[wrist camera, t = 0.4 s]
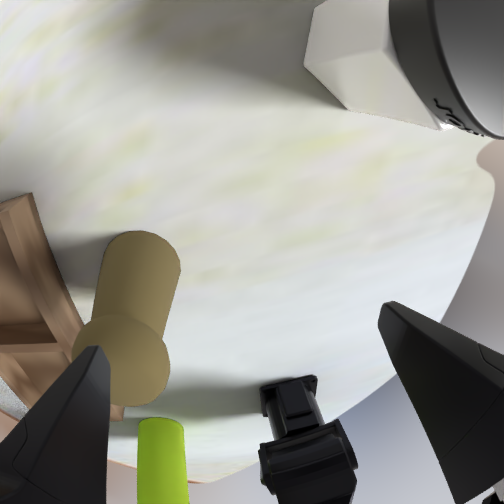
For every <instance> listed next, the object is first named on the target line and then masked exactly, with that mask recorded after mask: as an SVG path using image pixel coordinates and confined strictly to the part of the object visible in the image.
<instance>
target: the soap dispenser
mask: <svg viewBox="0 0 504 504" xmlns="http://www.w3.org/2000/svg"><path fill="white" fill-rule="evenodd" d="M137 504H189V494H188V484H187V473H186V460H185V445H184V429H183V426H182V425H181V424H180V423H178V422H176V421H174V420H171V419H166V418H148V419H144V420H142V421H141V422H140V423H139V426H138V451H137Z"/></svg>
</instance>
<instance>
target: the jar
mask: <svg viewBox="0 0 504 504" xmlns="http://www.w3.org/2000/svg"><path fill="white" fill-rule="evenodd" d="M303 65H304V67H305V68H306V69H307V70H309V71H310V72H311V73H312V74H313V75H314V76H315V77H316V78H317V79H318V80H319V81H320V82H321V83H322V84H323V85H324V86H325V87H326V88H327V89H328V90H329V91H330V92H331V93H332V94H333V95H334V96H335V97H336V98H337V99H338V100H339V101H340V102H341V103H342V104H343V105H344V106H345V107H346V108H347V109H348V110H349V111H352V112H358V113H364V114H369V115H374V116H380V117H385V118H389V119H394V120H399V121H403V122H407V123H411V124H415V125H419V126H423V127H427V128H431V129H434V130H438V131H445V130H448V129H452V128H455V127H458V128H459V129H461V130H465V131H467V132H469V133H473V134H476V135H479V136H483V137H486V136H488V137H491V138H494V139H499V140H504V0H326V1H325V2H323V3H322V4H320V5H318V6H317V7H315V9H314V12H313V17H312V22H311V27H310V33H309V38H308V43H307V48H306V53H305V58H304V63H303Z"/></svg>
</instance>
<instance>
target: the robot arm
mask: <svg viewBox="0 0 504 504" xmlns="http://www.w3.org/2000/svg"><path fill="white" fill-rule="evenodd" d="M378 329H379V331H380V334H381V336H382V339H383V341H384V344H385V346H386V349H387V351H388V354H389V356H390V359H391V361H392V364H393V366H394V368H395V370H396V372H397V374H398V376H399V378H400V380H401V382H402V384H403V386H404V387H405V390H406V392H407V394H408V396H409V398H410V400H411V402H412V404H413V406H414V408H415V410H416V412H417V414H418V416H419V419H420V421H421V423H422V425H423V427H424V429H425V432H426V434H427V436H428V438H429V440H430V443H431V445H432V447H433V449H434V452H435V454H436V456H437V459H438V460H439V464H440V466H441V469H442V471H443V473H444V476H445V478H446V481H447V483H448V486H449V488H450V491H451V493H452V496H453V499H454V501H455V503H456V504H464V503H466V502H468V501H469V500H471V499H473V498H475V497H476V496H478V495H479V494H481V493H483V492H484V491H486V490H487V489H489V488H490V487H492V486H493V488H494V490H495V491H494V492H493V493H491V494H490V495H489V496H488V497H486V498H485V499H484V500H483V502H482V504H504V355H502V354H500V353H498V352H496V351H494V350H492V349H490V348H488V347H486V346H484V345H482V344H480V343H477V342H476V341H474V340H472V339H470V338H468V337H466V336H464V335H462V334H460V333H458V332H456V331H454V330H452V329H450V328H448V327H446V326H444V325H442V324H440V323H438V322H436V321H434V320H432V319H430V318H428V317H426V316H424V315H422V314H420V313H418V312H416V311H414V310H412V309H410V308H408V307H406V306H404V305H402V304H400V303H398V302H395V301H390V302H386V303H384V304H383V305H382V307H381V311H380V315H379V319H378ZM317 381H318V379H317V377H316V376H310V377H306V378H301V379H297V380H293V381H288V382H284V383H279V384H274V385H269V386H264V387H261V388H260V397H261V406H262V414H263V417H268V418H269V421H270V425H271V429H272V433H273V437H274V441H271V442H267V443H261V444H260V449H259V450H258V454H259V459H260V466H261V471H260V478H261V479H260V480H261V483H262V484H263V485H265V486H267V488H268V490H269V491H270V493H271V494H272V495H276V496H277V499H278V503H279V504H351V503H352V500H353V496H354V492H355V488H356V484H357V479H356V476H355V474H354V471H353V470H355V469H357V468H358V463H357V459H356V456H355V453H354V451H353V448H352V446H351V444H350V442H349V440H348V438H347V435H346V434H345V431H344V429H343V427H342V425H341V423H340V421H339V419H336V420H333V421H332V422H330V423H327V424H325V423H324V420H323V417H322V415H321V412H320V410H319V407H318V404H317V402H316V399H315V395H316V388H317ZM110 384H111V367H110V363H109V361H108V359H107V357H106V355H105V353H104V351H103V349H102V347H101V346H100V345H88V346H87V347H86V348H85V349H84V350H83V351H82V352H81V353H80V354H79V355H78V356H77V357H76V358H75V359H74V361H73V362H72V363H71V364H70V365H69V366H68V367H67V368H66V369H65V370H64V371H63V373H62V374H61V375H60V376H59V377H58V378H57V379H56V380H55V381H54V383H53V384H52V385H51V386H50V387H49V388H48V389H47V390H46V392H45V393H44V394H43V395H42V396H41V397H40V398H39V400H38V401H37V402H36V403H35V404H34V405H33V406H32V408H31V409H30V410H29V411H28V412H27V413H26V415H25V417H23V418H22V419H21V420H20V422H19V423H18V424H17V425H16V426H15V428H14V429H13V430H12V431H11V432H10V433H9V434H8V435H7V437H5V439H4V440H3V441H2V442H1V443H0V504H106V476H107V475H106V474H107V451H108V435H109V423H110V407H111V400H110Z"/></svg>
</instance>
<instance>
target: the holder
mask: <svg viewBox="0 0 504 504" xmlns="http://www.w3.org/2000/svg"><path fill="white" fill-rule="evenodd" d="M83 326H84V323H83V322H82V320H81V318H80V316H79V314H78V312H77V310H76V307H75V305H74V303H73V301H72V299H71V297H70V295H69V293H68V290H67V288H66V286H65V284H64V281H63V279H62V277H61V274H60V272H59V269H58V267H57V265H56V262H55V260H54V257H53V254H52V252H51V249H50V247H49V244H48V241H47V238H46V235H45V233H44V230H43V227H42V224H41V221H40V218H39V215H38V211H37V208H36V205H35V201H34V198H33V195H32V193H29V194H25V195H22V196H19V197H16V198H13V199H11V200H8V201H5V202H2V203H0V376H1V377H2V379H3V380H4V381H5V382H6V384H7V385H8V386H9V387H10V388H11V390H12V391H13V392H14V393H15V394H16V395H17V396H18V398H19V399H20V400H21V401H22V402H23V403H24V404H25V405H26V406H27V407H28V408H29V410H30V409H31V408H32V406H33V405H34V404H35V403H36V402H37V401H38V400H39V398H40V397H41V396H42V395H43V394H44V393H45V392H46V390H47V389H48V388H49V387H50V386H51V385H52V384H53V383H54V381H55V380H56V379H57V378H58V377H59V376H60V375H61V374H62V373H63V371H64V370H65V369H66V368H67V367H68V366H69V365H70V364H71V363H72V360H71V351H72V347H73V344H74V341H75V339H76V337H77V335H78V333H79V331H80V330H81V329H82V328H83ZM123 415H124V406H117V405H113V404H111V407H110V421H123Z"/></svg>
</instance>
